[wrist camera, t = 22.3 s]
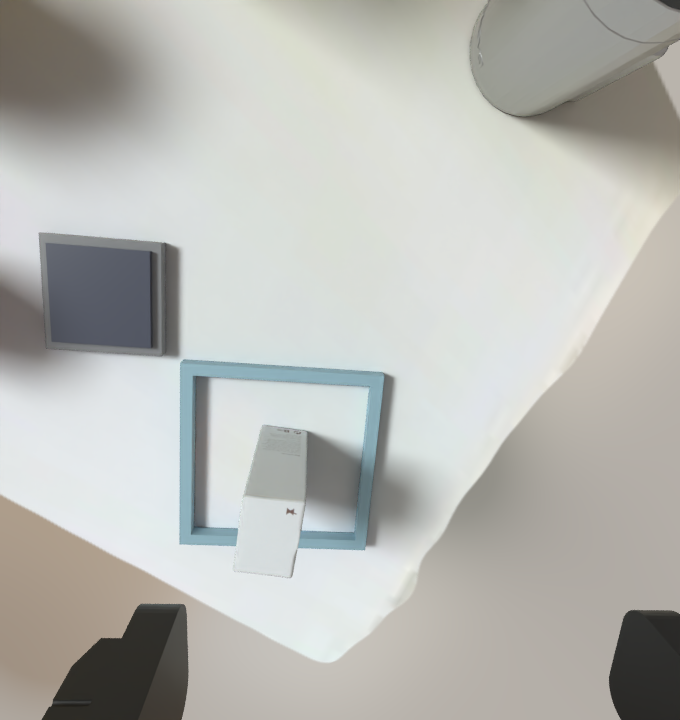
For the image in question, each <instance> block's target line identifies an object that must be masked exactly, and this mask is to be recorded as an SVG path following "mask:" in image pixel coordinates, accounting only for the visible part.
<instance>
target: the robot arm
mask: <svg viewBox="0 0 680 720" xmlns="http://www.w3.org/2000/svg"><path fill="white" fill-rule="evenodd" d="M678 40H680V0H489V1H488V3H487V4H486V6H485V7H484V9H483V10H482V12H481V13H480V15H479V17H478V19H477V22H476V24H475V26H474V29H473V34H472V38H471V42H470V61H471V68H472V73H473V76H474V79H475V81H476V84H477V86H478V88H479V89H480V91H481V92H482V94H483V96H484V97H485V98H486V99H487V100H488V101H489V102H490V103H491V104H492V105H493V106H495V107H496V108H498V109H500V110H501V111H503V112H506V113H508V114H511V115H515V116H525V117H526V116H533V115H539V114H541V113H544V112H547V111H549V110H551V109H553V108H555V107H557V106H558V105H560V104H562V103H564V102H566V101H578V100H580V99H582V98H584V97H586V96H588V95H590V94H591V93H593V92H595V91H597V90H599V89H601V88H603V87H605V86H607V85H609V84H611V83H613V82H614V81H616V80H618V79H620V78H622V77H624V76H626V75H628V74H630V73H632V72H634V71H636V70H637V69H639V68H641V67H643V66H645V65H647V64H649V63H651V62H653V61H655V60H657V59H658V58H660V57H661V56H663V55H664V54H665V52H666V51H667V49H668V47H669V45H671V44H673V43H675V42H677V41H678ZM187 686H188V645H187V614H186V607H185V605H184V604H140V605H139V606H138V607H137V609H136V610H135V612H134V614H133V616H132V618H131V620H130V622H129V625H128V626H127V629H126V631H125V633H124V635H123V637H122V638H121V639H120V638H101V639H100V640H99V641H98V642H97V643H96V644H95V645H93V646H92V648H91V649H89V650H88V651H87V653H85V654H84V655H83V656H82V657H81V658H80V659H79V660H78V661H77V662H76V663H75V664H74V665H73V666H72V667H71V669H70V671H69V673H68V674H67V676H66V678H65V680H64V681H63V683H62V685H61V687H60V689H59V690H58V692H57V694H56V696H55V697H54V699H53V704H52V706H51V707H49V708H48V710H47V711H46V713H45V715H44V717H43V718H42V720H181V719H182V715H183V711H184V707H185V701H186V694H187ZM609 686H610V692H611V697H612V700H613V704H614V706H615V709H616V711H617V713H618V715H619V717H620V719H621V720H680V614H679V613H677V612H674V611H664V610H663V611H662V610H661V611H659V610H656V611H655V610H631V611H628V612H627V613H626V615H625V616H624V619H623V622H622V626H621V630H620V635H619V639H618V643H617V647H616V650H615V654H614V659H613V663H612V667H611V671H610V676H609Z"/></svg>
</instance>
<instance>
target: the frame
mask: <svg viewBox="0 0 680 720" xmlns="http://www.w3.org/2000/svg"><path fill="white" fill-rule="evenodd" d="M196 376H208V377H224V378H240V379H257V380H273V381H289V382H305V383H322V384H338V385H354V386H369V395H368V405H367V415H366V424H365V434H364V444H363V453H362V463H361V473H360V482H359V492H358V502H357V511H356V521H355V531H354V533H346V532H317V531H301V533H300V540H299V545H298V548H312V549H343V550H365V547H366V538H367V529H368V520H369V511H370V502H371V492H372V483H373V474H374V465H375V456H376V447H377V438H378V429H379V420H380V411H381V402H382V393H383V384H384V375H383V373H382V372H369V371H354V370H338V369H323V368H307V367H292V366H276V365H261V364H245V363H230V362H214V361H198V360H183V361H182V362H181V363H180V544H187V545H219V546H236V544H237V536H238V529H232V528H204V527H194V488H195V407H196Z"/></svg>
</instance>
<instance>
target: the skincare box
mask: <svg viewBox="0 0 680 720" xmlns="http://www.w3.org/2000/svg"><path fill="white" fill-rule="evenodd" d="M307 436H308V433H307V431H301V430H294V429H287V428H280V427H273V426H267V425H262V427H261V430H260V434H259V438H258V442H257V445H256V449H255V453H254V457H253V461H252V464H251V468H250V472H249V476H248V479H247V483H246V487H245V491H244V495H243V500H242V505H241V511H240V518H239V526H238V536H237V544H236V552H235V559H234V566H233V571H234V572H244V573H253V574H262V575H270V576H278V577H285V578H291V577H292V575H293V570H294V564H295V559H296V553H297V549H298V545H299V540H300V533H301V528H302V522H303V516H304V511H305V504H306V478H307Z"/></svg>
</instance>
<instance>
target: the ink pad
mask: <svg viewBox="0 0 680 720" xmlns="http://www.w3.org/2000/svg"><path fill="white" fill-rule="evenodd" d="M39 245H40V260H41V276H42V291H43V307H44V322H45V337H46V349H61V350H77V351H92V352H108V353H123V354H139V355H154V356H162V355H163V354H165V353H166V252H165V243H162V242H150V241H138V240H126V239H114V238H103V237H91V236H79V235H67V234H55V233H39Z"/></svg>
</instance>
